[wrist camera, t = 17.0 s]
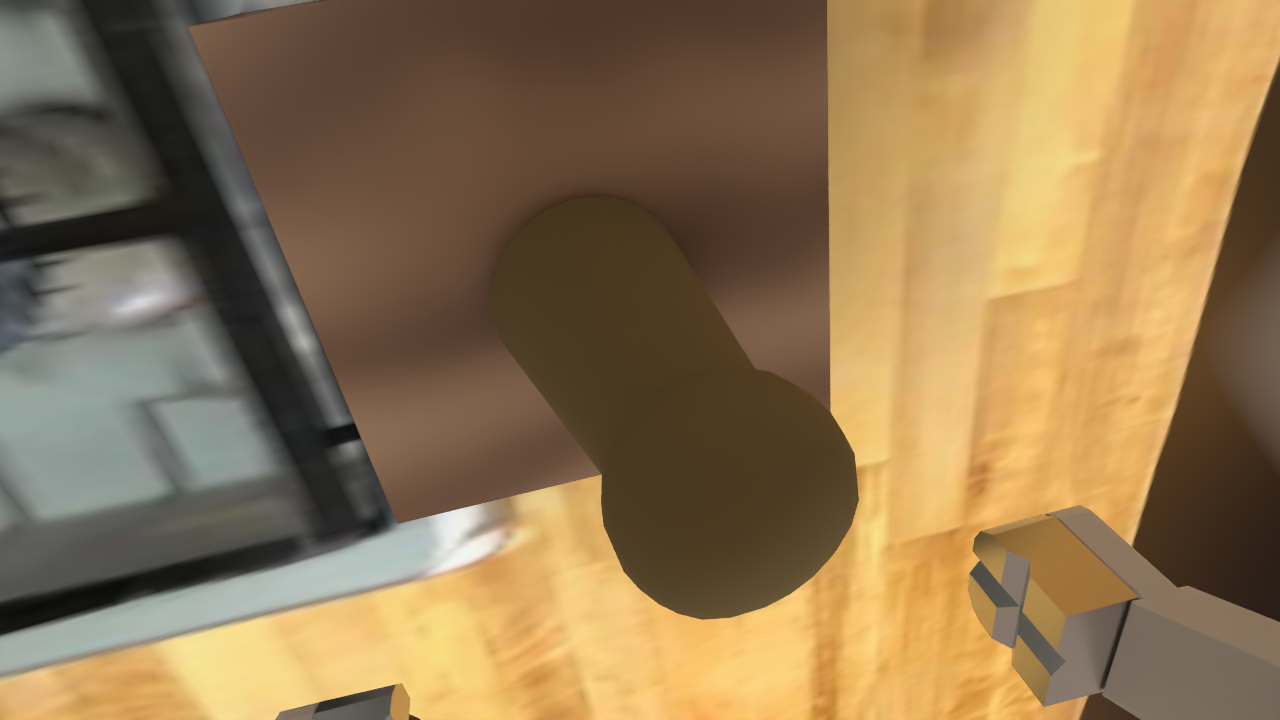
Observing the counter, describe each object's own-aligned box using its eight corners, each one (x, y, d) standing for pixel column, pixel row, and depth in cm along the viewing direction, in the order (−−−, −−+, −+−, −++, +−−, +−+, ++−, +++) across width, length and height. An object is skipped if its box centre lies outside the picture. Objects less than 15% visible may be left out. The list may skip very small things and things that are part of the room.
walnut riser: (244, 12, 21) (187, 27, 17) (760, -75, 23) (826, -81, 19) (408, 441, 30) (397, 523, 25) (781, 355, 31) (830, 419, 27)
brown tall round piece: (467, 224, 19) (596, 494, 11) (674, 174, 21) (931, 378, 12) (512, 399, 23) (635, 708, 14) (686, 346, 24) (892, 598, 16)
